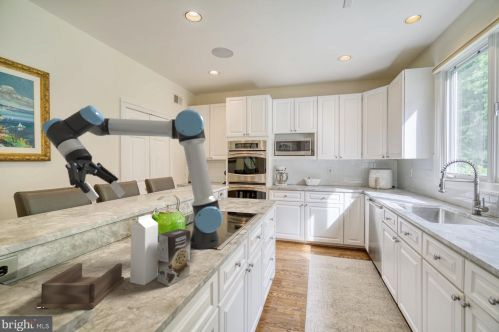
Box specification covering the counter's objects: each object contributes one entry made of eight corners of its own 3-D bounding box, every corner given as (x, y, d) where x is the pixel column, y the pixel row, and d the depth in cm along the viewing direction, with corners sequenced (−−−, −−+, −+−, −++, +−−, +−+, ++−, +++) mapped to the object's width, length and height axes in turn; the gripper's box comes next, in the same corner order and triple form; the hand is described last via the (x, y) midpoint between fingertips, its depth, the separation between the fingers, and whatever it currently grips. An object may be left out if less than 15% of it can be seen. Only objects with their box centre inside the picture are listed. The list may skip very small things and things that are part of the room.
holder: (124, 280, 73) (124, 262, 74) (92, 308, 58) (93, 285, 59) (79, 280, 73) (79, 261, 73) (36, 308, 58) (37, 285, 58)
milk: (129, 282, 72) (130, 216, 72) (143, 274, 78) (144, 213, 78) (144, 285, 70) (145, 218, 71) (157, 277, 76) (158, 214, 76)
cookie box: (169, 287, 70) (170, 236, 70) (156, 281, 73) (157, 233, 73) (190, 275, 77) (191, 230, 78) (178, 270, 81) (179, 227, 81)
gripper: (94, 162, 94) (124, 199, 92) (33, 158, 69) (72, 209, 67) (107, 151, 93) (137, 188, 92) (50, 142, 68) (89, 193, 67)
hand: (110, 197), depth 79 cm, fingers open, 13 cm apart
